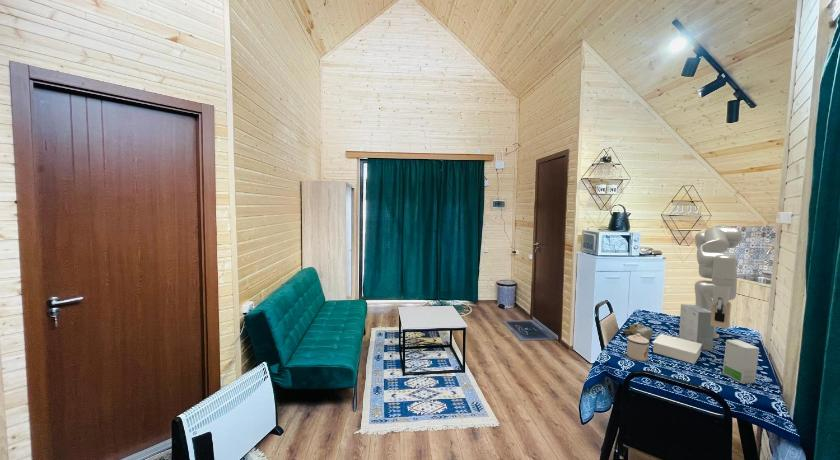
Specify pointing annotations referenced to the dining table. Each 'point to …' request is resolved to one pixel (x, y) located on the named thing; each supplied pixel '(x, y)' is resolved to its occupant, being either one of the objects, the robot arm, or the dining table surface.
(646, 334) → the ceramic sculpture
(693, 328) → the hard drive box
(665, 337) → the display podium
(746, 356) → the skincare box
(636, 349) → the teacup with lid
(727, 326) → the kraft carton
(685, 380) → the dining table surface
